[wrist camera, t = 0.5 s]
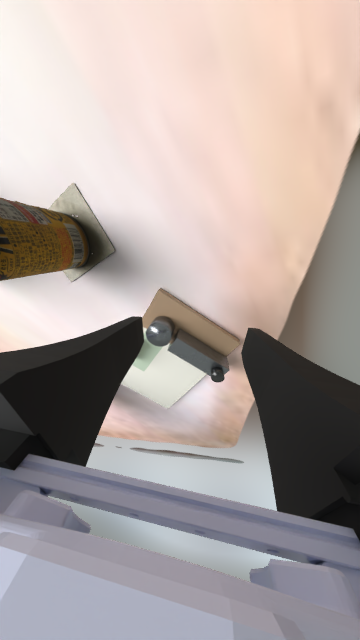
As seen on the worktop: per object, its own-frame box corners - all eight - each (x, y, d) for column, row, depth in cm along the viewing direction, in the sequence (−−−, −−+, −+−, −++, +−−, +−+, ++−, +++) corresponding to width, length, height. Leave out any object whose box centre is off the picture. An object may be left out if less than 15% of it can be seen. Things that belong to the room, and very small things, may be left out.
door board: (169, 404, 30) (167, 409, 29) (111, 373, 28) (108, 377, 27) (238, 339, 21) (240, 343, 20) (160, 287, 19) (158, 290, 18)
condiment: (30, 228, 18) (-210, 205, 8) (74, 182, 15) (-210, 46, 5) (72, 281, 21) (-66, 320, 10) (116, 250, 18) (-10, 259, 7)
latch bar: (148, 328, 21) (138, 342, 18) (158, 311, 19) (150, 323, 16) (214, 368, 22) (215, 387, 19) (228, 355, 21) (232, 374, 18)
